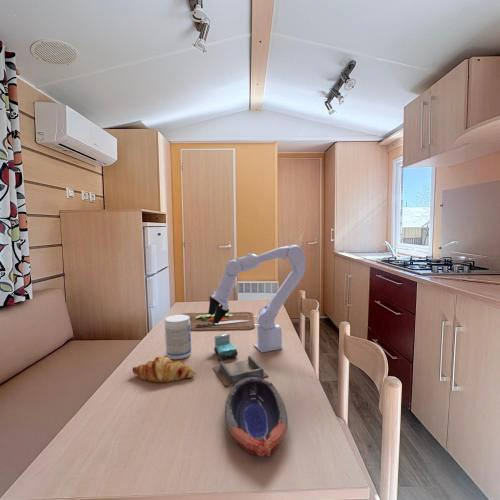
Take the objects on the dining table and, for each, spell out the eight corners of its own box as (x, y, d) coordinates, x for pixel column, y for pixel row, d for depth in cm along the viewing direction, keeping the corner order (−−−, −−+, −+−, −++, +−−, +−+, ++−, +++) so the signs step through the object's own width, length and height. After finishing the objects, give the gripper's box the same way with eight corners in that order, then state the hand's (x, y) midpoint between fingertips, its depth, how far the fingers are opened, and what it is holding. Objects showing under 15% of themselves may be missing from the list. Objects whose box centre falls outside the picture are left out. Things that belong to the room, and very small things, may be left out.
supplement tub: (195, 356, 117) (194, 318, 116) (171, 362, 112) (169, 323, 110) (185, 347, 125) (184, 312, 124) (162, 353, 120) (161, 316, 118)
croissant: (197, 383, 104) (199, 358, 107) (190, 383, 95) (193, 356, 98) (136, 381, 105) (140, 356, 108) (124, 381, 96) (128, 354, 99)
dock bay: (251, 359, 114) (251, 351, 113) (268, 376, 101) (268, 368, 101) (212, 367, 108) (212, 359, 107) (225, 386, 95) (225, 377, 95)
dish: (278, 389, 94) (278, 373, 93) (296, 469, 63) (296, 446, 63) (227, 390, 93) (227, 374, 93) (221, 472, 63) (221, 449, 62)
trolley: (230, 349, 123) (230, 333, 123) (238, 358, 115) (238, 341, 114) (213, 352, 120) (212, 336, 120) (220, 361, 112) (219, 344, 111)
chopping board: (257, 314, 172) (257, 308, 172) (260, 330, 145) (260, 324, 145) (177, 315, 171) (177, 310, 171) (165, 332, 144) (165, 326, 144)
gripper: (211, 279, 128) (200, 308, 129) (221, 292, 115) (208, 324, 116) (226, 283, 131) (215, 312, 132) (237, 296, 118) (225, 328, 119)
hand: (213, 318), depth 124 cm, fingers open, 7 cm apart
